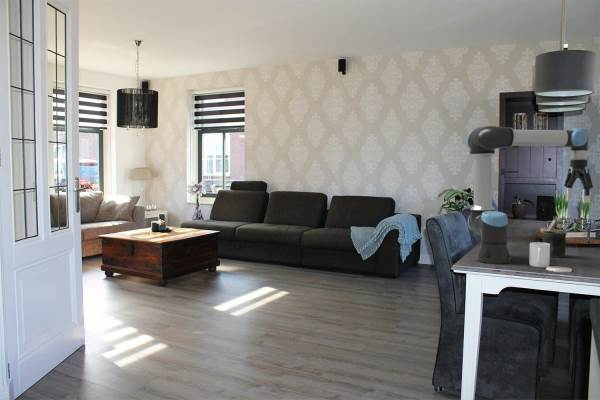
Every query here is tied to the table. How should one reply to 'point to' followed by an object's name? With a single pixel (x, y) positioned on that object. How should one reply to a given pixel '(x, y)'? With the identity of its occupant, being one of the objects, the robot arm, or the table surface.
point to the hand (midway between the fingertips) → (577, 201)
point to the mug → (555, 242)
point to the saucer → (559, 269)
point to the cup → (539, 254)
